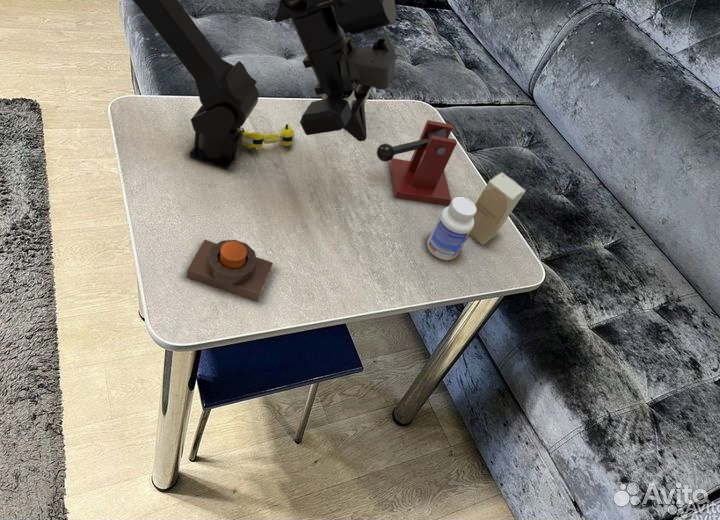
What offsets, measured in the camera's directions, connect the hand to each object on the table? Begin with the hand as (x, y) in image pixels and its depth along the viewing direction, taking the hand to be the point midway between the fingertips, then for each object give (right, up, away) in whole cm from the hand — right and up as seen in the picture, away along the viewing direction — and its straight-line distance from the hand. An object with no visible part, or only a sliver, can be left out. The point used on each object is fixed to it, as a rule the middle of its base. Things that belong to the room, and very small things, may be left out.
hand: (363, 139), depth 89 cm
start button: (-18, -18, -10) cm, 27 cm away
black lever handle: (+9, 0, +11) cm, 14 cm away
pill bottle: (+13, -16, +7) cm, 22 cm away
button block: (-18, -20, -8) cm, 28 cm away
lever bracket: (+10, -5, +17) cm, 20 cm away
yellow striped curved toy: (-17, +2, +13) cm, 21 cm away
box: (+20, -13, +12) cm, 27 cm away
